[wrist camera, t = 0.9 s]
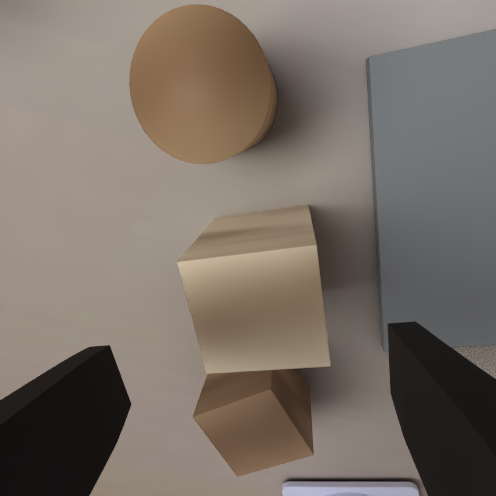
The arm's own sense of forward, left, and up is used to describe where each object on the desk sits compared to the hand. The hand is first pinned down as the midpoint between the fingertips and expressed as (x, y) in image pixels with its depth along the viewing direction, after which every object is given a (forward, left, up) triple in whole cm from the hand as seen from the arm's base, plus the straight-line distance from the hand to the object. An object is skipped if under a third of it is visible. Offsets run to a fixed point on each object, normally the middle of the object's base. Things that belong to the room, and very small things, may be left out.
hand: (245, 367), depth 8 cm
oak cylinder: (+7, 0, -8) cm, 11 cm away
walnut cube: (-7, +1, -8) cm, 11 cm away
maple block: (0, 0, -8) cm, 8 cm away
